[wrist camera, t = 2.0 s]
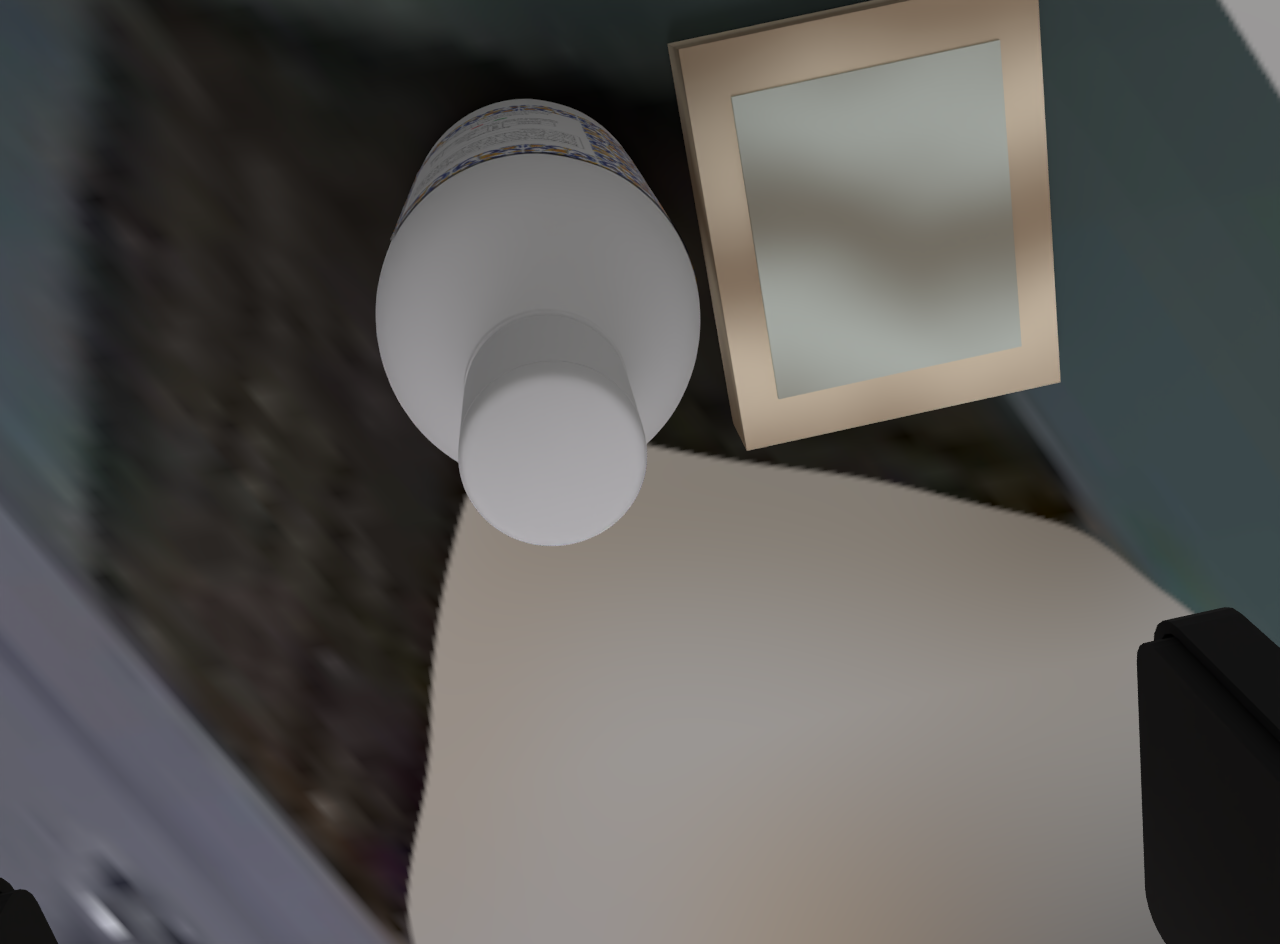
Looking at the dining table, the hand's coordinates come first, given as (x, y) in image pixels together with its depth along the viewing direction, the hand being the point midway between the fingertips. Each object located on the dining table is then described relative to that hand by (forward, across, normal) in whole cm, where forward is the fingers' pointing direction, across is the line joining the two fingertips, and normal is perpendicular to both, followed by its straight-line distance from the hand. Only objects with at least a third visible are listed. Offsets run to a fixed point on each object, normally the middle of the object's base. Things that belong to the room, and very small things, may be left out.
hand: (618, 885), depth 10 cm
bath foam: (+29, 0, 0) cm, 29 cm away
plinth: (+29, -10, +2) cm, 31 cm away
